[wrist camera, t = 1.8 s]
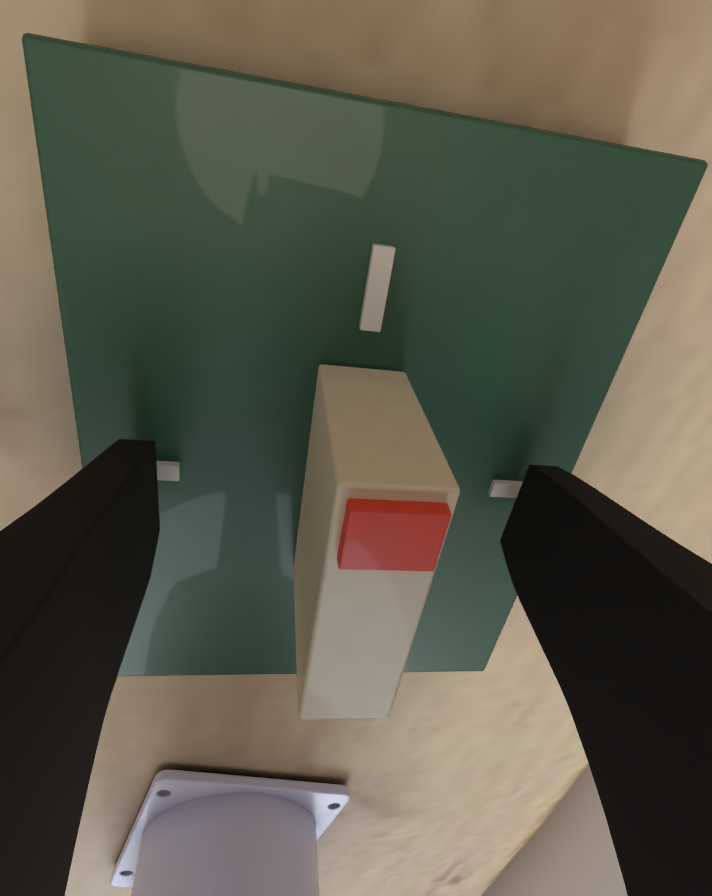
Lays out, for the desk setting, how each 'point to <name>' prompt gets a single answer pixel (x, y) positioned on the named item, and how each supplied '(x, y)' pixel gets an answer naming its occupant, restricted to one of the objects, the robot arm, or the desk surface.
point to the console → (327, 317)
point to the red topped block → (365, 540)
